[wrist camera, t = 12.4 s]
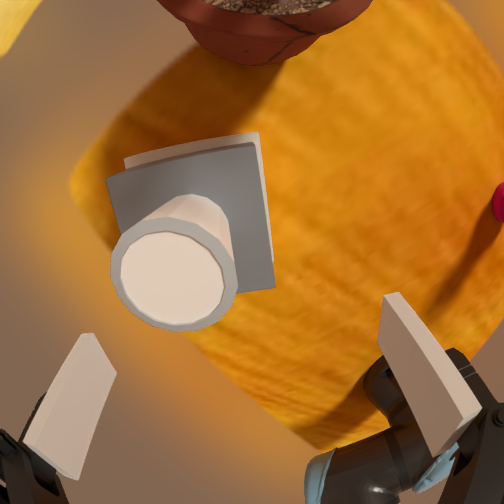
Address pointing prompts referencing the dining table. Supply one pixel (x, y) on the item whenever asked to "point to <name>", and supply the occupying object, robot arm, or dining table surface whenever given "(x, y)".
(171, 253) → the white cup
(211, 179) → the tower top
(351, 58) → the dining table surface
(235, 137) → the tower base
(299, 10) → the potted plant
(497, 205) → the pepper mill
